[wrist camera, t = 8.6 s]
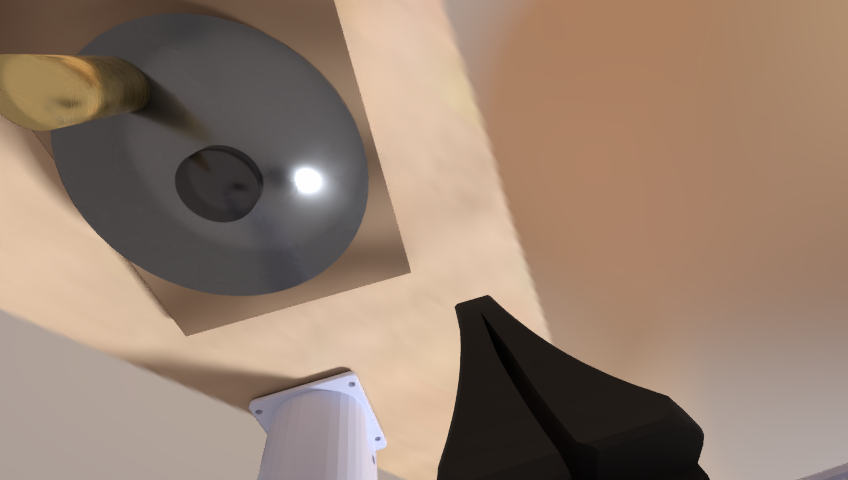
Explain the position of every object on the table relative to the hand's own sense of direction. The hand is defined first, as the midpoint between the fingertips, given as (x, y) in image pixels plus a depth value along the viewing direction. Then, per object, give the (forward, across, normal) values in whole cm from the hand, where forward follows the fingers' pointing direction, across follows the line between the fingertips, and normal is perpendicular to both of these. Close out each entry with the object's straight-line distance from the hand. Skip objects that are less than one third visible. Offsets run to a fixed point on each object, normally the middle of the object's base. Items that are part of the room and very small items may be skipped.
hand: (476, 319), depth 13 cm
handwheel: (+8, +9, -6) cm, 13 cm away
